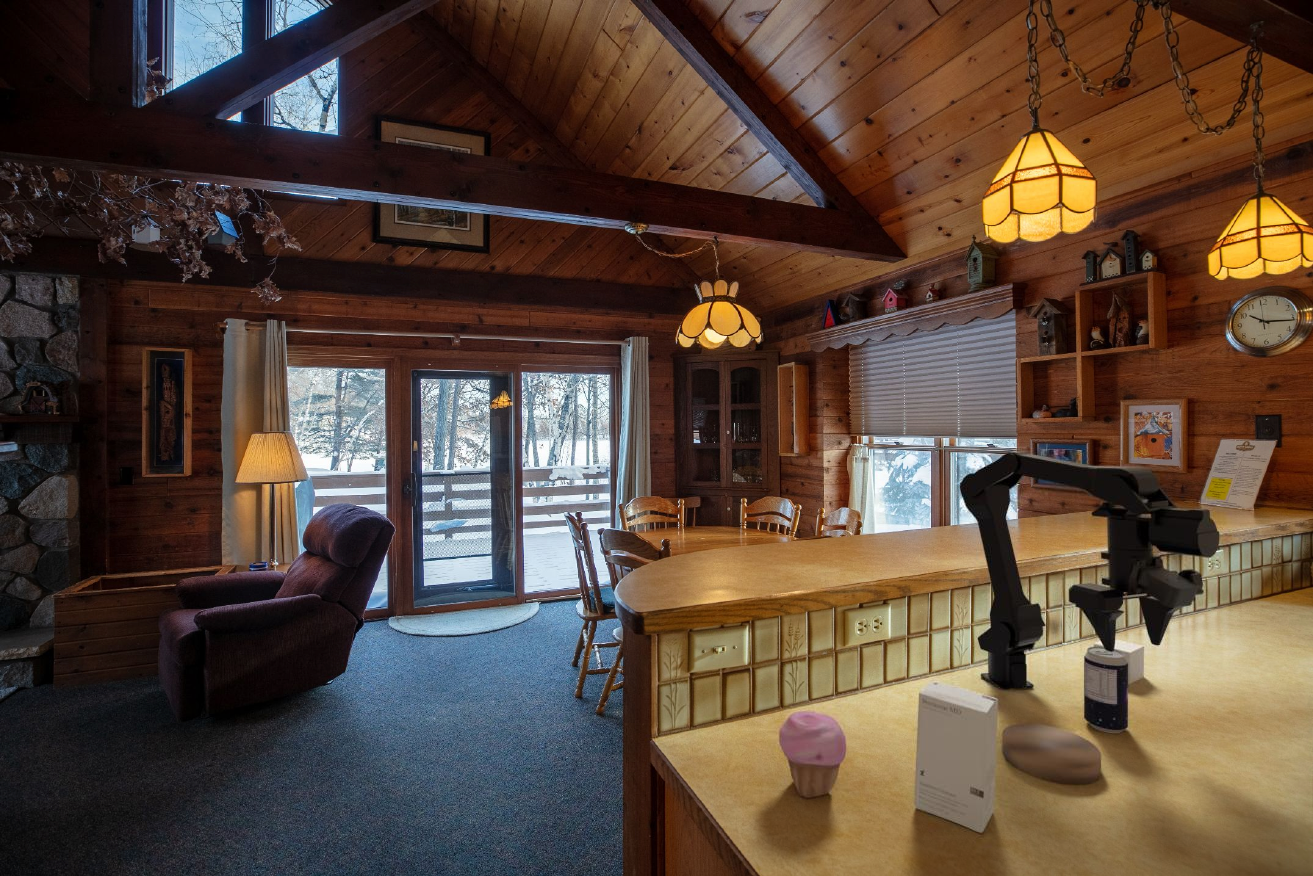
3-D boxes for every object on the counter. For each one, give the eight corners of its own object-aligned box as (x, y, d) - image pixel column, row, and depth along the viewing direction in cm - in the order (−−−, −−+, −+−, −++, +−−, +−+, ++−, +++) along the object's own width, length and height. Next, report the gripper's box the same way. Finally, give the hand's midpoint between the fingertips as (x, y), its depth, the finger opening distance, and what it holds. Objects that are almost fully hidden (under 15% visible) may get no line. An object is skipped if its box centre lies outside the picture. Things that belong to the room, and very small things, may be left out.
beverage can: (1135, 737, 97) (1135, 659, 96) (1094, 734, 98) (1094, 657, 97) (1116, 720, 102) (1116, 646, 102) (1077, 717, 103) (1077, 644, 103)
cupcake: (772, 772, 88) (771, 701, 88) (832, 769, 89) (832, 699, 89) (790, 811, 79) (789, 732, 79) (857, 807, 80) (857, 729, 80)
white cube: (1143, 677, 119) (1144, 646, 119) (1130, 685, 116) (1130, 652, 116) (1107, 667, 124) (1107, 637, 124) (1093, 674, 121) (1093, 643, 121)
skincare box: (913, 809, 79) (913, 692, 79) (928, 788, 84) (928, 677, 84) (987, 836, 74) (986, 711, 74) (998, 812, 79) (998, 694, 78)
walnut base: (984, 742, 95) (984, 726, 95) (1057, 737, 97) (1057, 721, 97) (1041, 788, 84) (1041, 769, 83) (1123, 781, 85) (1123, 762, 85)
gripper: (1134, 561, 88) (1137, 673, 88) (1233, 552, 92) (1236, 658, 92) (1064, 548, 99) (1067, 648, 98) (1155, 541, 103) (1158, 636, 103)
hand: (1132, 648), depth 98 cm, fingers open, 9 cm apart
